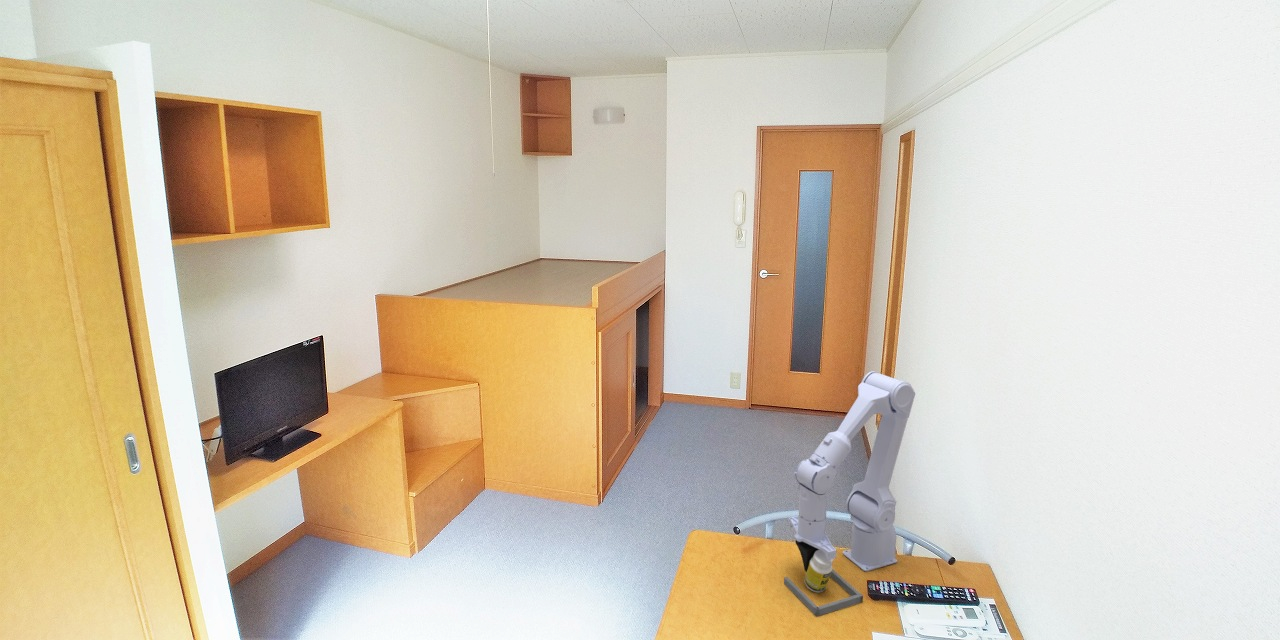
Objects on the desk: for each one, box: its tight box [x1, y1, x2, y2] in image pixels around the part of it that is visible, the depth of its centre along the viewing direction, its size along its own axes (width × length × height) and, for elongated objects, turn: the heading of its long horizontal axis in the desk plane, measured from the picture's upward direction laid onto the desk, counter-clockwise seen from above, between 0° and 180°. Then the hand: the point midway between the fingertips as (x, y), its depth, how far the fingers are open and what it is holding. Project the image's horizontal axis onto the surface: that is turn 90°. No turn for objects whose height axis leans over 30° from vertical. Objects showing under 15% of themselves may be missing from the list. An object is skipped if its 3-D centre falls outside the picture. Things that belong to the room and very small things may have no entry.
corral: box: [783, 568, 864, 618], centre depth 135 cm, size 12×12×2 cm
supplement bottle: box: [804, 550, 834, 593], centre depth 135 cm, size 5×5×8 cm
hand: (809, 570), depth 139 cm, fingers closed
